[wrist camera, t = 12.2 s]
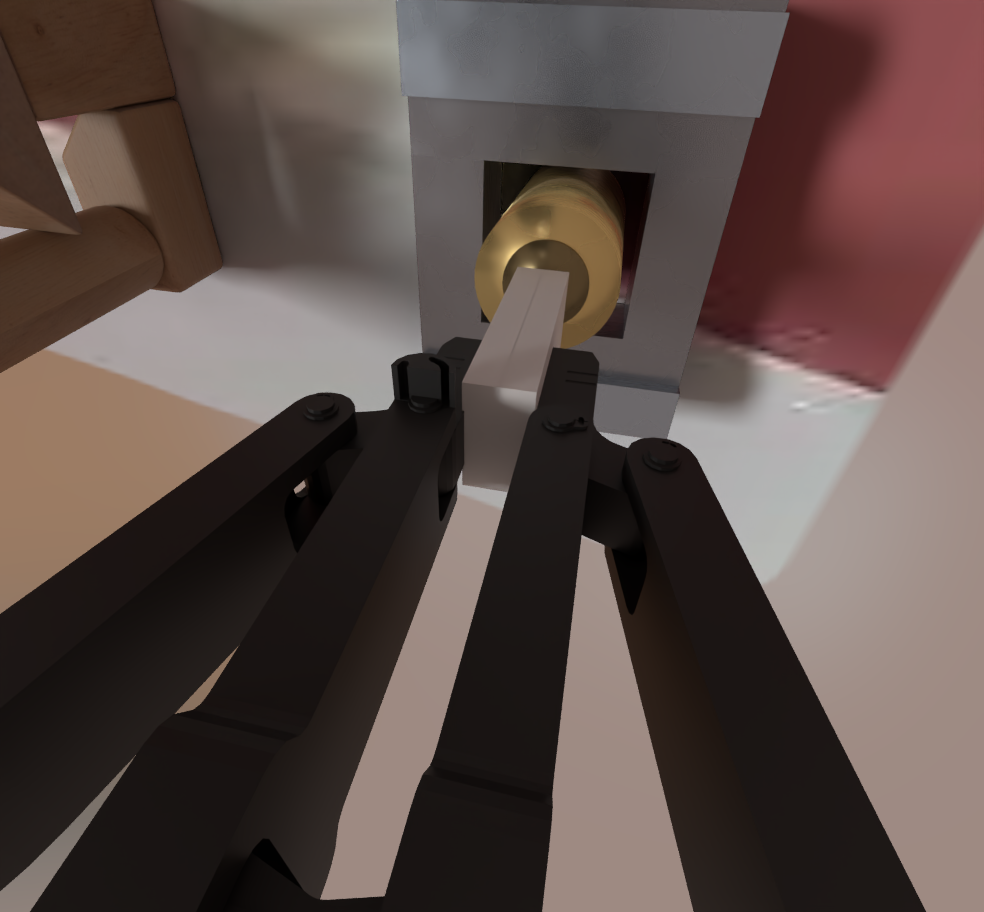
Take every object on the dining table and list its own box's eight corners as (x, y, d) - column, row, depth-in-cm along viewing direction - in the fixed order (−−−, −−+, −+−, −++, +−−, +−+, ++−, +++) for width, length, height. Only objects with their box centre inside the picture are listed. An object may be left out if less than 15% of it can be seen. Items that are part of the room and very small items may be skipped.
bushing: (519, 154, 22) (470, 203, 15) (632, 157, 21) (630, 209, 15) (517, 266, 24) (475, 347, 18) (618, 272, 24) (611, 358, 17)
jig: (434, -10, 19) (395, -15, 16) (766, 1, 18) (793, -2, 14) (445, 368, 29) (421, 411, 25) (661, 396, 27) (664, 446, 24)
